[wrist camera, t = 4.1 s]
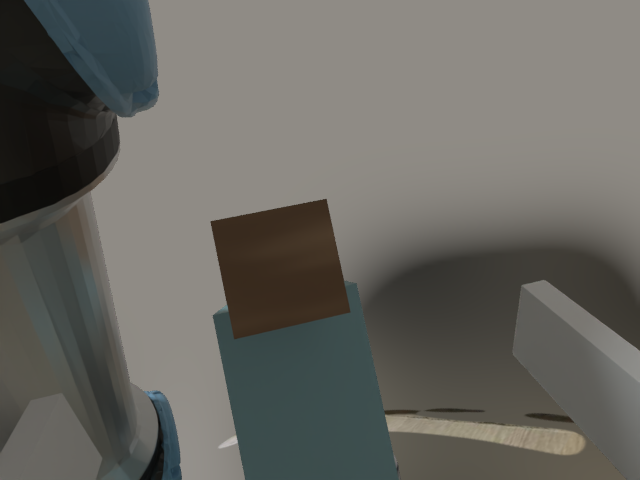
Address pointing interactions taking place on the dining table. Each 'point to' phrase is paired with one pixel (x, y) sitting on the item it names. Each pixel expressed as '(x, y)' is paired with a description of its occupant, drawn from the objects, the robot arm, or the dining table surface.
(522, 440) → the dining table surface
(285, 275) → the brown wooden block
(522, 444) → the dining table surface
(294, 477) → the stand
